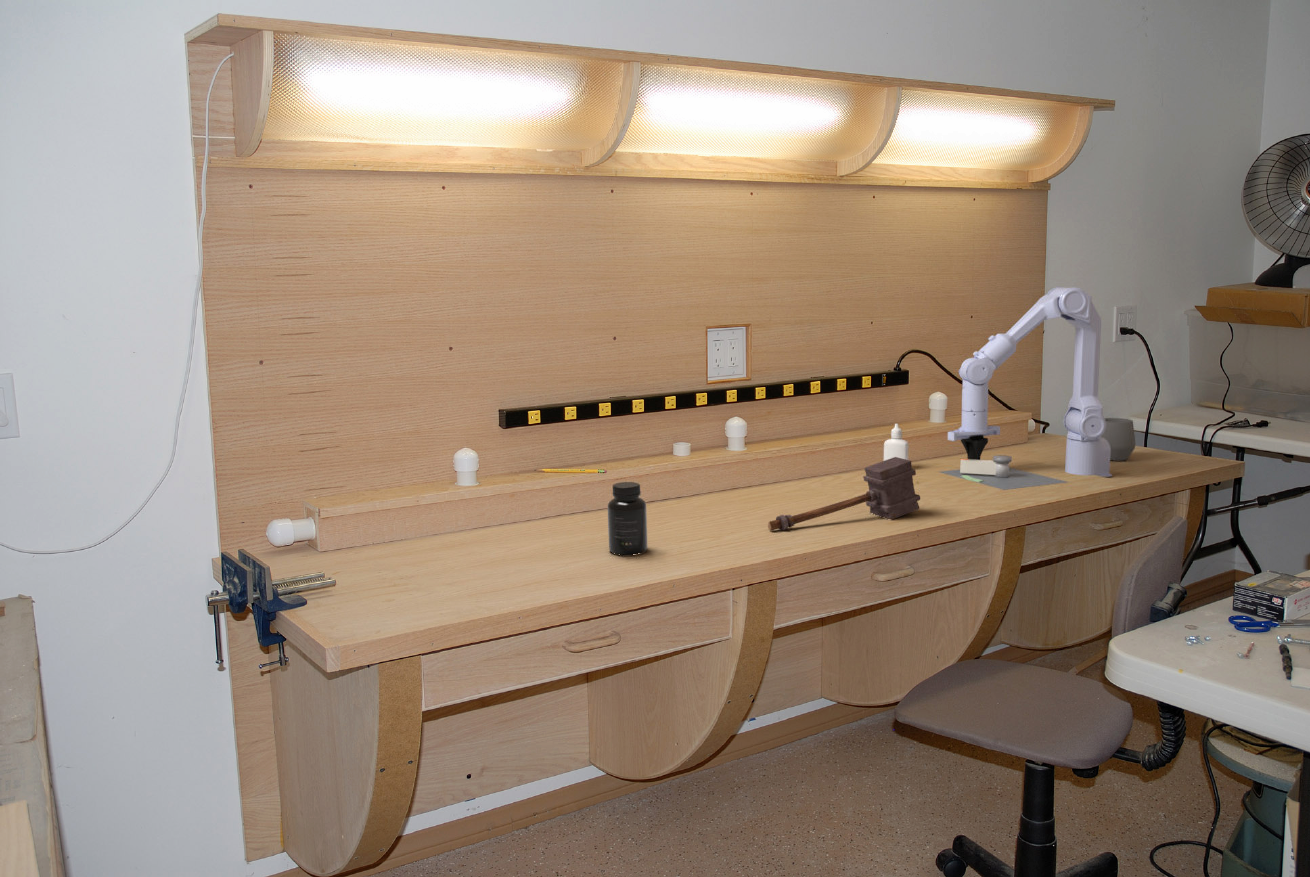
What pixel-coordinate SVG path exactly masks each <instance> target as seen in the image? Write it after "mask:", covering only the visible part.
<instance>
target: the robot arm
mask: <svg viewBox="0 0 1310 877" xmlns="http://www.w3.org/2000/svg"><path fill="white" fill-rule="evenodd" d="M1092 299H1093V298H1092V296H1091V295H1090V294H1089V293H1088V292H1087V291H1085V290H1084V289H1082V288H1080V287H1074V286H1073V287H1063V286H1056V287H1053V288H1052V289H1050V290H1049V291H1048V292H1047V294H1044V295H1043V296H1042V297H1040V298H1039V299H1038V300H1037V301H1036V302H1035V304H1033V306H1032V307H1031V308H1030V309H1029V310H1028V311H1027V312H1025V313H1024V314H1023V316H1022V317H1020V319H1018V321H1017V322H1016V323H1015V324H1013V325H1012V326H1011V328H1010V329H1009V330H1008V331H1006V333H997V334H996V335H990V336H989V337H988V338H987V340H988V342H987V343H986V344H985V345H984V346H982V347H981V348H980V349H979V350H978V351H976V350H975V351H974V352H973V353H972V355H973V357H969V358H967V359H965V360H964V361H963V362H962V364H961V366H960V369H958V374H959V376H960V378H961V379H962V390H961V423H960V424H961V425H960V427H959V428H958V429H957V428H956V429H955V430H952V431H950V430H949V431H947V440H948V441H952V442H956V441H959V440H960V443H961V444H962V445H963V447H964V449H965V452H966V454H967V457H966V459H974V460H981V456H982V454H983V451H984V449H985V447H986V446H987V444H988V443H989V438H987V436H996V435H997V436H999V435H1001V426H1000V425H999V426H998V425H988V421H989V420H988V416H989V415H988V414H989V410H988V409H989V408H988V407H989V381H991V379H992V378H993V374H994V371H996V370H997V369H999V367H1001V365H1003V363H1005V362H1006V361H1007V360H1008V359H1009V358H1010V357H1011V356H1013V355H1014V354H1015V353H1016V352H1017V345H1018V343H1019V342H1020V341H1021V340H1023V339H1024V338H1025V337H1026V336H1027V335H1029V334H1030V333H1031V332H1032V331H1033V330H1035V329H1036V328H1037V327H1038V326H1040V324H1041V323H1043V322H1044V321H1046V320H1047V321H1048V320H1051V319H1057V318H1063V319H1064V320H1066V322H1068V323H1069V324H1070V325H1071V326H1073V327H1074V329H1075V334H1074V335H1075V336H1074V356H1073V357H1074V358H1073V359H1074V360H1073V384H1072V396H1071V398H1070V400H1069V401H1068V405H1067V410H1066V412H1065V414H1064V416H1063V420H1062V423H1063V427H1064V428H1065V430H1067V434H1066V445H1065V460H1064V461H1065V464H1064V466H1065V467H1064V473H1067V474H1071V475H1076V476H1077V475H1078V476H1097V477H1101V478H1109V477H1112V476H1113V474H1112V473H1110V471H1111V470H1110V468H1111V461H1110V454H1111V449H1110V445H1109V443H1108V441H1107V440H1106V439H1104V438H1102V437H1101V435H1102V434H1103V433H1104V432H1105V429H1106V421H1105V418H1106V417H1104V414H1103V412H1104V411H1103V408H1104V407H1103V405H1102V403H1101V401H1100V399H1099V380H1100V379H1099V377H1100V355H1101V337H1102V336H1101V333H1102V319H1101V318H1102V317H1101V316H1100V315H1099V312H1098V311H1097V308H1096V306H1095V305H1094V303H1093V300H1092Z"/></svg>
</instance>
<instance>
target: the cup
mask: <svg viewBox="0 0 1310 877" xmlns="http://www.w3.org/2000/svg"><path fill="white" fill-rule="evenodd" d="M1104 418H1105V421H1106V429H1105V432H1104V433H1103V434H1102V435H1101V437H1102V438H1104V439H1106V440H1107V441H1108V443H1109V445H1110V449H1111V454H1110V460H1113V461H1112V462H1121V461H1126V460H1128V459H1129V458H1130V456H1131V455H1132V453H1133V452H1134V450H1135V448H1136V436H1135V428H1134V427H1135V426H1134V420H1132V419H1128V418H1119V417H1104Z"/></svg>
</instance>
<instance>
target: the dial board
mask: <svg viewBox="0 0 1310 877" xmlns="http://www.w3.org/2000/svg"><path fill="white" fill-rule="evenodd" d="M939 473H941V474H945V475H949V476H951V477H955V478H960V479H963V480H967V481H970V482H974V483H978V484H981V485H984V486H988V487H992V488H995V489H998V490H1003V491H1006V490H1007V491H1009V490H1017V489H1024V488H1033V487H1040V486H1047V485H1048V486H1049V485H1056V484H1064V483H1065V484H1066V483H1068V481H1066V480H1062V479H1058V478H1054V477H1049V476H1045V475H1041V474H1037V473H1034V472H1030V471H1029V472H1028V471H1027V470H1026V471H1025V470H1022V469H1021V470H1020V469H1018V468H1013V467H1009V476H1008V477H1006V478H1001V477H995V475H989V474H972V473H960V468H959V469H950V470H942V471H939Z"/></svg>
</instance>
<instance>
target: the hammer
mask: <svg viewBox="0 0 1310 877" xmlns="http://www.w3.org/2000/svg"><path fill="white" fill-rule="evenodd" d="M916 470H917V469H914V468H912V461H911V460H910V459H908V460H906V459H902V458H898V457H894V458H891V459H888V460H885V461H884V460H883V461H881V462H878V463H877V462H876V463H874V464H872V465H869V466H865V467H864V471H865V475H864V476H862V477H863V481H864V482H867V486H868V490H866V493H865V494H862V495H858V496H855V497H853V498H852V497H851V498H849V499H846V500H843V501H842V500H841V501H839V502H836V503H835V502H834V503H833V504H829V505H826V506H822V507H820V508H816V509H813V510H810V511H806V512H802V513H799V514H794V515H791V514H780V515H778V516H776V518H775V519H774V520H770V521H768V524H767V528H768V530H769V531H774V530H779V529H780V531H782V530H784V531H786V530H787V529H788V528H793V527H794V526H795V525H797V524H800V523H803V522H807V521H811V520H812V519H816V518H819V517H822V516H823V517H824V516H826V515H830V514H832V513H836V512H838V511H842V510H845V509H847V508H850V507H854V506H857V505H860V504H863V503H865V504H866V507H869V514H871V513H873V514H872V515H874V514H875V516H876V515H879V516H881V518H882V517H885V518H887V519H886V520H888V519H892V520H895V519H897V518H899V517H902V516H905V515H906V514H909V513H912V512H915V511H918V510H919V509H921V508H920V504H919V502H918V501H920V500H921V495H920V494H918V493H916V491H915V484H914V479H913V476H916V474H917V473H916V472H917V471H916ZM879 516H878V517H879ZM885 518H884V519H885Z"/></svg>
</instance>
